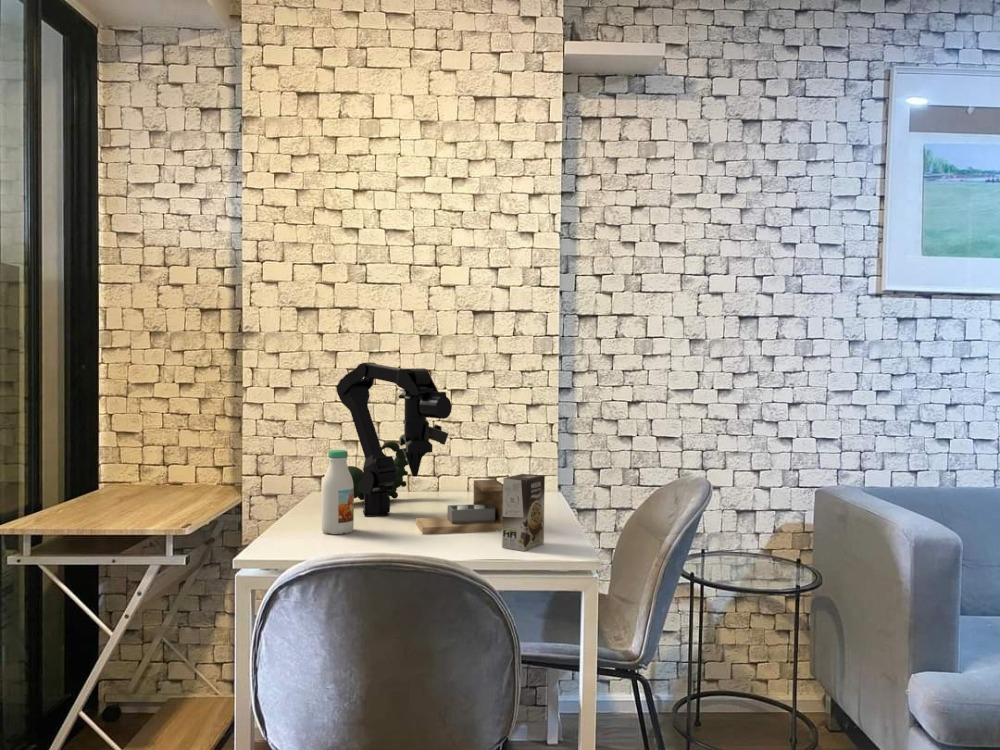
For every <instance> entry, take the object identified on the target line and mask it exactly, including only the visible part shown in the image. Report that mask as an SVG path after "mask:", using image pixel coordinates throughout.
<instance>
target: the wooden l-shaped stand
mask: <svg viewBox="0 0 1000 750" xmlns="http://www.w3.org/2000/svg"><path fill="white" fill-rule="evenodd" d="M472 503H473V504H490V505H491V506H492V507H494V508H495V523H472V524H451V523H450V521H449V520H448V519H447V516H444V517H443V516H440V517H418V518H417V517H416V519H415V520H416V521H415V523H416V524H415V525H416V526H417V528H418V530H419V532H420V533H421V532H422V533H421V534H422V535H434V534H453V533H454V534H455V533H459V532H460V533H477V532H478V531H482V532H497V531H496V530H502V524H503V483H502V482H500V481H499V480H497V479H478V480H477V479H475V480H473V502H472ZM473 504H472V505H473Z"/></svg>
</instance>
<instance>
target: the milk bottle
mask: <svg viewBox="0 0 1000 750" xmlns="http://www.w3.org/2000/svg"><path fill="white" fill-rule="evenodd" d="M348 454H349V453H348V450H347V449H332V450H328V454H327V455H328V460H329V463H328V467H327V470H326V472H325V474H324V476H323V480H322V485H321V531H323V532H325V533H324V534H327V533H331V534H330V535H343V533H345V534H349V532H350V533H352V532H353V531H354V525H355V524H354V522H355V521H354V520H355V517H354V516H355V515H354V512H355V511H354V507H355V505H354V504H355V501H354V500H355V498H354V487H353V480H352V476H351V474H350V472H349V470H348V467H347V466H348V462H347V461H348ZM323 532H322V533H323Z"/></svg>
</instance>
